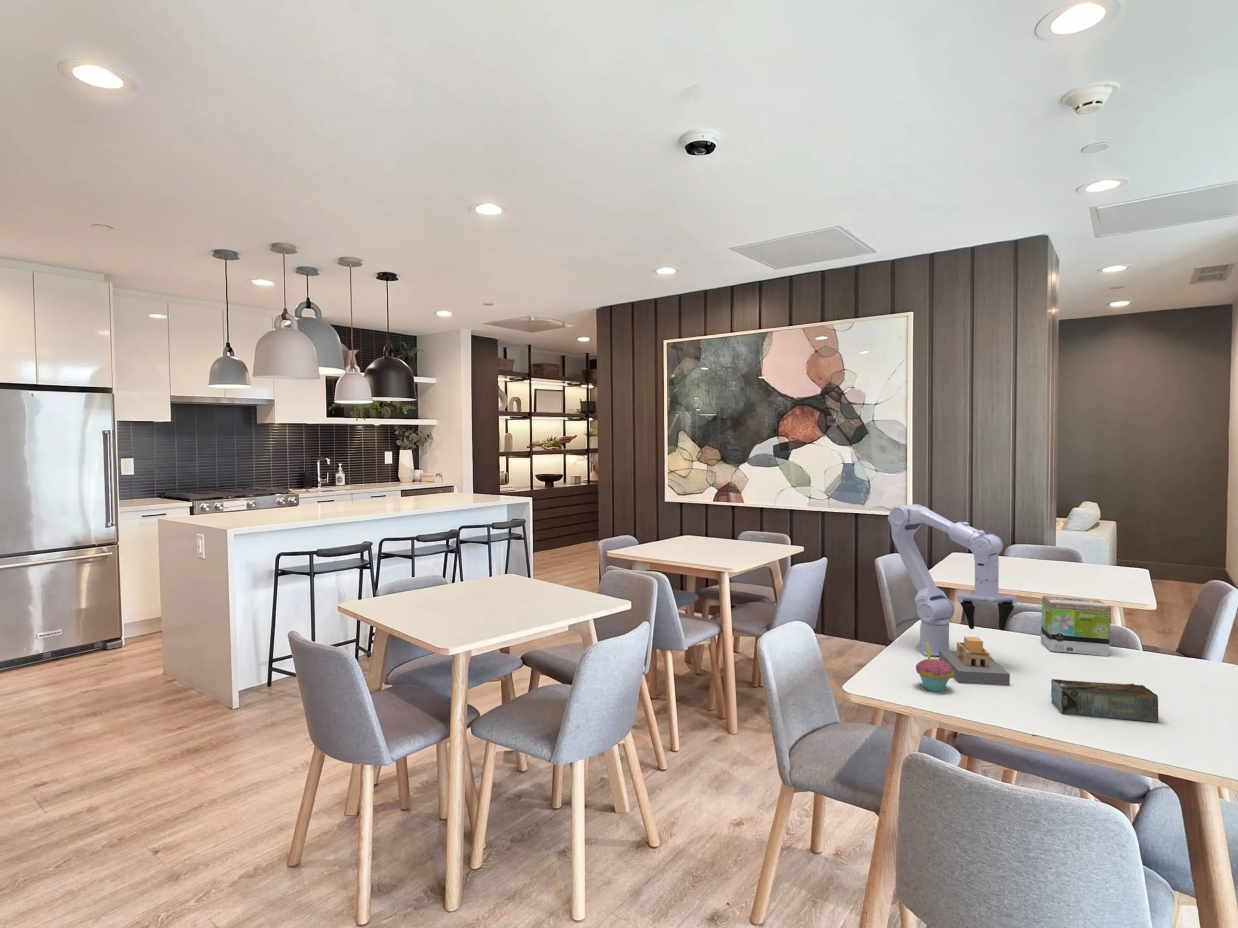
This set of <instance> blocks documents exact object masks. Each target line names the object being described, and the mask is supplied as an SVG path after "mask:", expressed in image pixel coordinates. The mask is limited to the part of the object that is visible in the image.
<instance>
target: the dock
mask: <svg viewBox="0 0 1238 928" xmlns="http://www.w3.org/2000/svg"><path fill="white" fill-rule="evenodd" d="M938 660H942V661H944V662H946V663H947V664H949V666H951V668H953V669H952V670H953V672H954V676H953V679H954V680H955V681H956V682H957V683H958V684H970V685H971V684H973V685H990V686H991V685H993V686H1007V687H1008V686H1010V682H1011V681H1010V677H1011V674H1010V673H1009V672H1008V671H1007V670H1006V669H1005V668H1004V667H1002V665H1000V664H999V663H998V662H997V661H996V660H995V659H994V658H992V657H991V656H990V664H989V667H984V666H983V665H982V664H981V663H980V667H976V666H975V665H974V664H973V663H972V662H971V667H970V666H966V665H965V664H964V663H963V662H962V661H961V660H960V659H959V658H958V657H957V650H949V651H944V650H939V656H938Z"/></svg>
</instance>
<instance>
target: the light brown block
mask: <svg viewBox="0 0 1238 928" xmlns="http://www.w3.org/2000/svg"><path fill="white" fill-rule="evenodd" d="M963 643H964V647H965V648H966V649H967V650H968V651H969V652H983V648H984V641H983V640H982V639H981V638H980V637H978V636H964V637H963Z"/></svg>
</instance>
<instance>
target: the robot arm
mask: <svg viewBox="0 0 1238 928" xmlns="http://www.w3.org/2000/svg"><path fill="white" fill-rule="evenodd" d="M887 520H888V522H889V524H890V529H891V530H890V532H891V537H892V541H893V543H894V545H895V548H896V549H897V552H898V553H899V556H900V558H901V560H902V563H903V565H904V566H905V569H906V571H907V574H908V576H909V578H910V580H911V581H912V584H913V586H914V589H915V590H916V593H917V594H916V595H915V598H914V603H915V606H916V614H917V616H918V618H919V620H920V627H919V644H918V643H917V644H916V645H915V646H916V648H918V649H919V651H920V652H921V653H922V654H923V656H928V655H927V649H926V640H927V642H928V644H929V650H930V656H934V657H939V650H944V651H950V622H951V618H953V616H954V615H955V611H956V610H955V605H954V604H953V601H952V600H951V599H950V598H948V597H947V595H946V593H945V591H943V590H942V589H940V588H939V587H937V586H936V583H935V582H934V578H933V576H932V575H931V573H930V571H929V569H928V567H927V565H926V562H925V561H924V558H923V555H922V554H921V552H920V550H919V548H918V546H917V544H916V542H915V540H914V536H915V534H916V532H917V531H918V529H919V528H920V527H921V526H922V525H923V524H925V525H927V526H929V527H932V528H934V529H937V530H938V531H941V532H943V533H946V534H948V536H949V539H950V540H951V541H953V542H955V543H957V544H958V545H960V546H962V547H965V548H967V549H969V550H970V551H971V553H972V554H973V560H974V593H956V601H957V602H958V603H960V605H961V607H962V609H963V611H964V614H965V616H966V617H965V618H966V620H967V624H968V628H969V629H970V630H974V629H975V609H976V605H974V603H991V604H992V603H993V604H997V609H998V629H999V630H1000V631H1005V628H1006V626H1007V625H1006V624H1007V622H1008V620H1009V617H1010V615H1011V613H1012V612H1013V610H1014V608H1015V605H1018V600H1017V599H1018V597H1017V596H1015V595H1013V594H1001V593H1000V594H999V575H1000V574H999V573H1000V572H999V568H1000V566H999V563H1000V562H999V561H1000V559H999V554H1001V553H1002V551H1003V548H1004V543H1003V541H1002V539H1001V538H1000V537H999V536H997V534H995V533H988V534H986V533H985V531H984V530H982V529H979V530H978V529H976V528H974V527H972V526H970V523H968V522H967V521H958V522H956V523H954V522H952V521H951V520H949V519H947V518H945V517H944V516H941V515H940V514H938V513H935V512H934V511H932V510H930V509H929V508H928V507H926V506H923V505H921V504H918V503H912V504H904V505H900V504H899V505H894V506H893V507H891V509H890V510H889V514H888V517H887ZM925 639H926V640H925Z"/></svg>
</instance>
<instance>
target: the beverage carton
mask: <svg viewBox="0 0 1238 928" xmlns="http://www.w3.org/2000/svg"><path fill="white" fill-rule="evenodd" d="M1050 682H1051V685H1050V686H1051V690H1050V697H1051V701H1050V702H1051V704H1052V705H1053V706H1054V707H1055V708H1056V709H1057V710H1058V711H1059V713H1060V714H1061V715H1071V716H1080V717H1090V718H1102V719H1117V720H1128V721H1131V720H1132V721H1141V722H1150V723H1158V722H1159V696H1158V694H1157V693H1154V692H1153V691H1152V690H1151V689H1149V688H1147V687H1146V686H1145V685H1143V684H1135V683H1115V682H1113V683H1110V682H1109V683H1108V682H1095V681H1094V682H1093V681H1081V680H1080V681H1079V680H1069V679H1068V680H1067V679H1064V680H1063V679H1057V678H1053V679H1051V681H1050Z"/></svg>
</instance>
